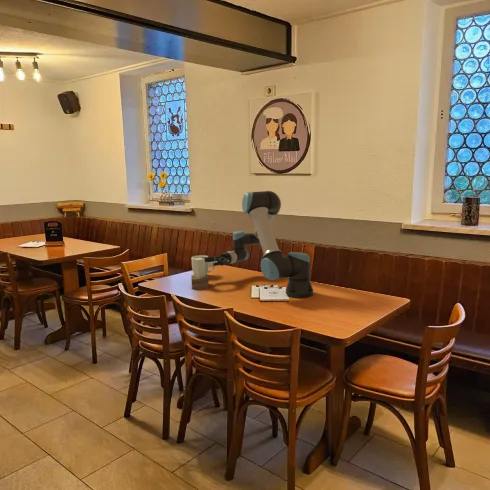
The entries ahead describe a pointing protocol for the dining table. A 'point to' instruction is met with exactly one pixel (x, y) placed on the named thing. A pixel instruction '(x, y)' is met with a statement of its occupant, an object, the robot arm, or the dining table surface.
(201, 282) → the walnut base
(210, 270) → the mug
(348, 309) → the dining table surface
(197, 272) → the sage block
